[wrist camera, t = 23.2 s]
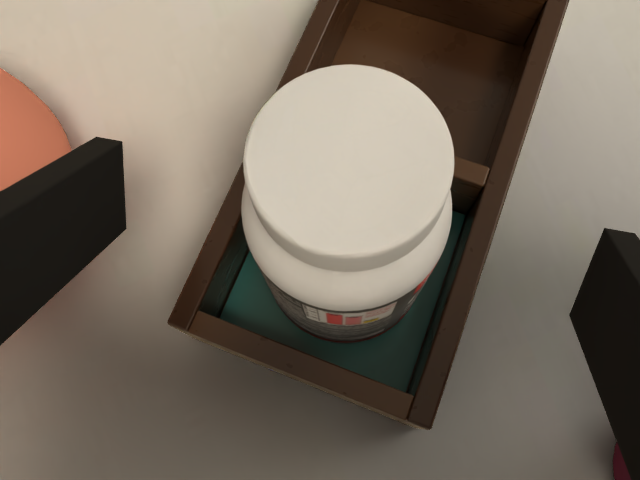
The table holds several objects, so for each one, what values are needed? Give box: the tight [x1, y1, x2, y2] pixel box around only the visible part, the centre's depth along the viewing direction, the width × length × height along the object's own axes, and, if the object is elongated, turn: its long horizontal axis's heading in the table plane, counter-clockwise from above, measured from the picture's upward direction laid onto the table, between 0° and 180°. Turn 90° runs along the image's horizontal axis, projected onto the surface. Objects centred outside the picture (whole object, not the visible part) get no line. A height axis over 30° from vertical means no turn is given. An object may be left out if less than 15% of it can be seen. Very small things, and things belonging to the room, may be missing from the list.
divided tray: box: [167, 0, 569, 430], centre depth 22 cm, size 9×17×4 cm, turn 158°
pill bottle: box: [241, 64, 454, 343], centre depth 17 cm, size 6×6×10 cm
